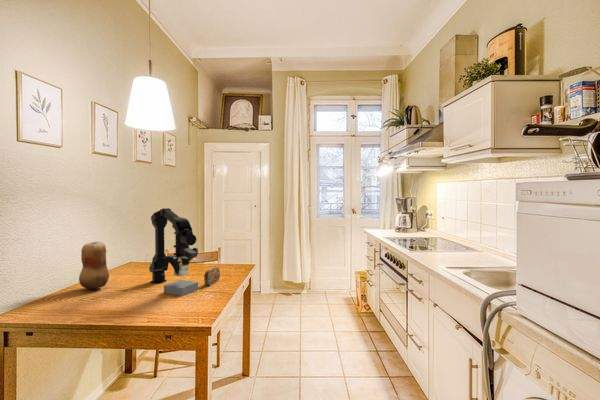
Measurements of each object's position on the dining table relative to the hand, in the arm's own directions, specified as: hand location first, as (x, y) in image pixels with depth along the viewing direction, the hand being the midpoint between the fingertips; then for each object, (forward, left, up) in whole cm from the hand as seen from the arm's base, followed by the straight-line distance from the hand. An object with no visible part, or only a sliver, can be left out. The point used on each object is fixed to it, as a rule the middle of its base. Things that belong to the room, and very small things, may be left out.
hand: (181, 272), depth 173 cm
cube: (0, 0, -1) cm, 1 cm away
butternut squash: (-44, -16, -10) cm, 48 cm away
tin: (+5, +19, -10) cm, 22 cm away
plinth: (0, 0, -10) cm, 10 cm away
